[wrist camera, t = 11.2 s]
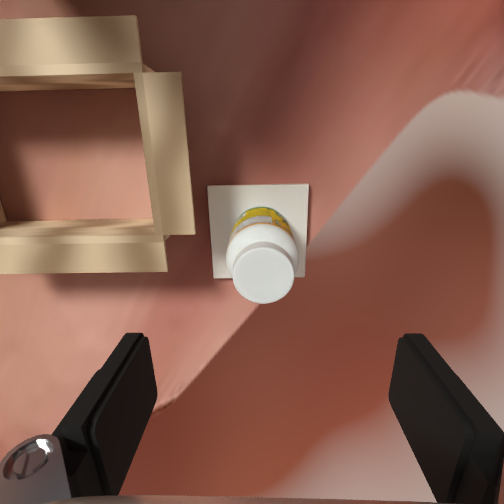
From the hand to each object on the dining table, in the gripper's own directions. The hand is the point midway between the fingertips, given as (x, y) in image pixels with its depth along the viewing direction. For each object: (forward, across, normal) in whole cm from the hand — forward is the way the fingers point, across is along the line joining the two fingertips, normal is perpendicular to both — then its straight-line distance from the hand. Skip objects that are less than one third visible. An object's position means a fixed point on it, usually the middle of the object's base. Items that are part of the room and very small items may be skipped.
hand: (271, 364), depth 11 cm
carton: (+18, +17, -6) cm, 26 cm away
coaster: (+19, +1, 0) cm, 19 cm away
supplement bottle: (+18, 0, 0) cm, 18 cm away
